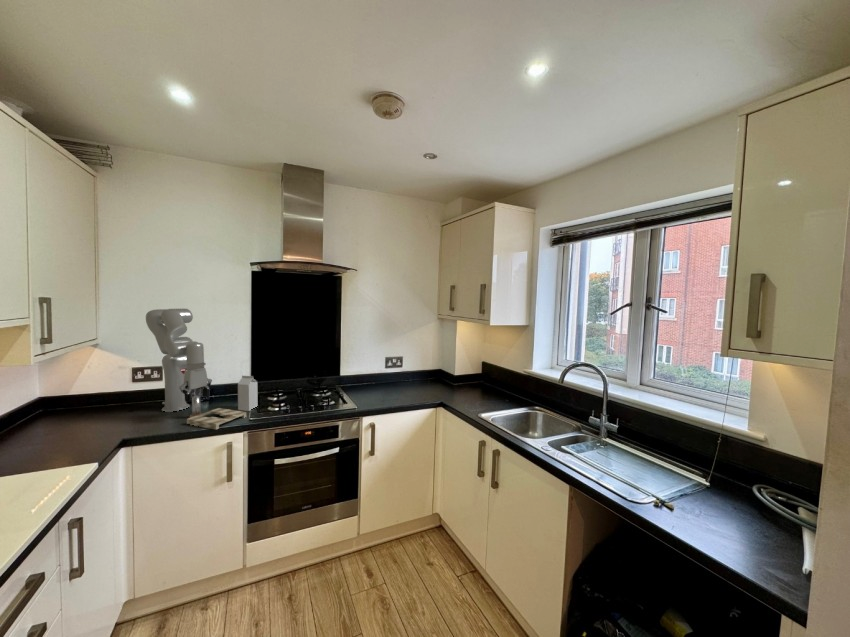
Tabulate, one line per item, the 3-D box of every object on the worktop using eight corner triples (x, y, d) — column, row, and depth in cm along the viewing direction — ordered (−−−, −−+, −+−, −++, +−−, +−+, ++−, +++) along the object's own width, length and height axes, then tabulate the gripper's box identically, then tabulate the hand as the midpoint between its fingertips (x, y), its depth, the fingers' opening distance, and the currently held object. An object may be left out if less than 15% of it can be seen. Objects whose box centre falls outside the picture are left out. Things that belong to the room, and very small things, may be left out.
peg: (186, 418, 176) (186, 397, 175) (197, 414, 182) (197, 394, 181) (195, 420, 174) (194, 399, 173) (206, 416, 180) (205, 395, 179)
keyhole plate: (186, 424, 168) (186, 418, 168) (218, 413, 185) (218, 407, 185) (216, 429, 162) (216, 423, 162) (246, 417, 179) (246, 411, 179)
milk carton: (249, 411, 188) (248, 377, 187) (238, 410, 190) (237, 377, 189) (257, 407, 195) (257, 375, 194) (247, 406, 197) (246, 374, 196)
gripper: (205, 363, 185) (206, 394, 186) (173, 369, 169) (175, 403, 170) (215, 364, 183) (217, 395, 184) (184, 369, 167) (186, 404, 167)
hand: (196, 398), depth 177 cm, fingers open, 9 cm apart
